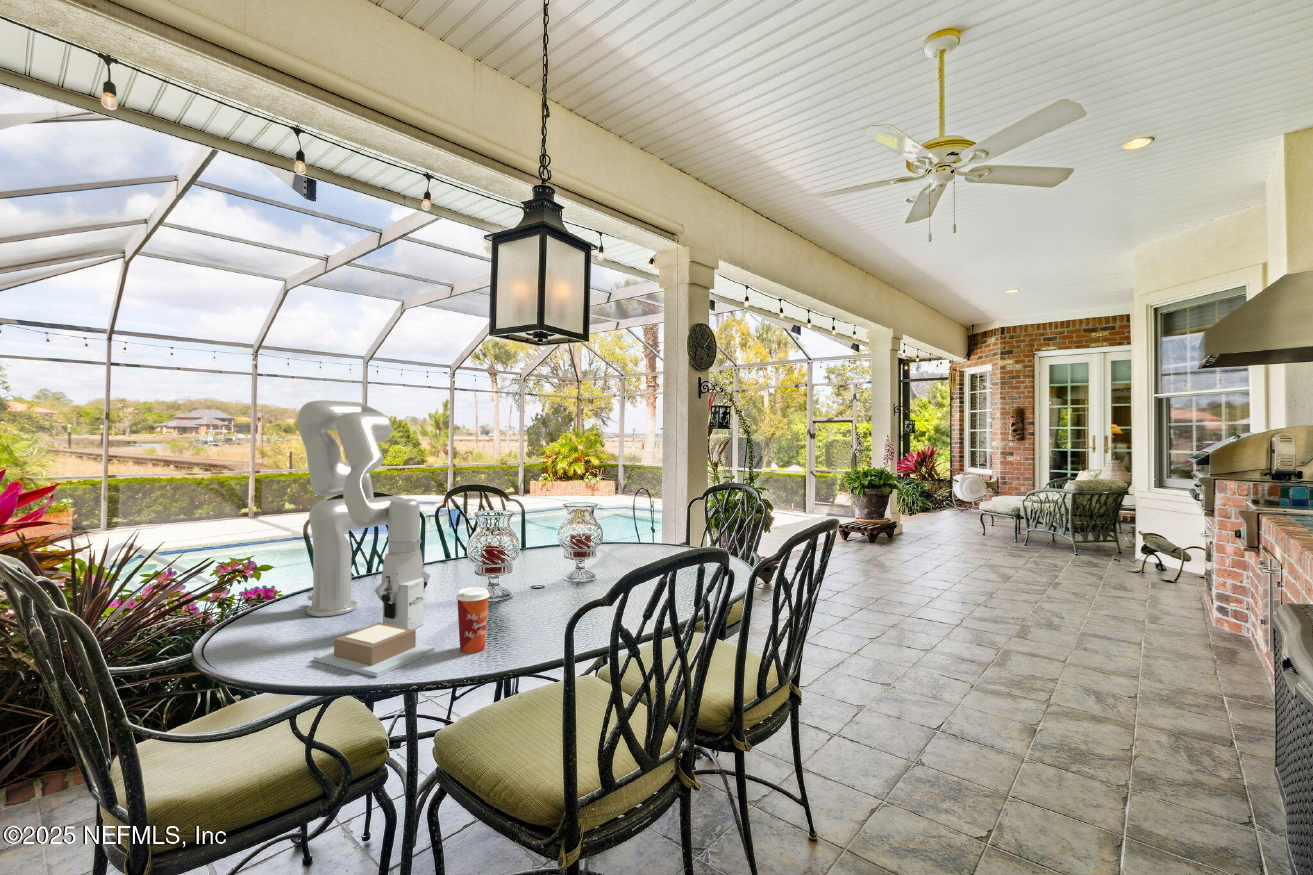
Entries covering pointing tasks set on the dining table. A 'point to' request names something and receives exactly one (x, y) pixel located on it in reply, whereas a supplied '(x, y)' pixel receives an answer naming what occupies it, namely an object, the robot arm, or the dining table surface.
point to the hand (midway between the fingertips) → (403, 612)
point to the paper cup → (472, 618)
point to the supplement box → (408, 605)
